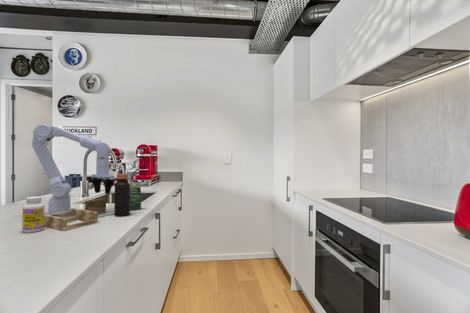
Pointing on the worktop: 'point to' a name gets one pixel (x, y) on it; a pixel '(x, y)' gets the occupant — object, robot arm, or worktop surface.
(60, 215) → the grey offcut
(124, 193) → the vinegar
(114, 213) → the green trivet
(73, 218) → the pine offcut
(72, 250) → the worktop surface
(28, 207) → the supplement bottle
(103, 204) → the walnut board
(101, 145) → the robot arm
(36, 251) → the worktop surface
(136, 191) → the coffee box
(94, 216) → the oak rack
